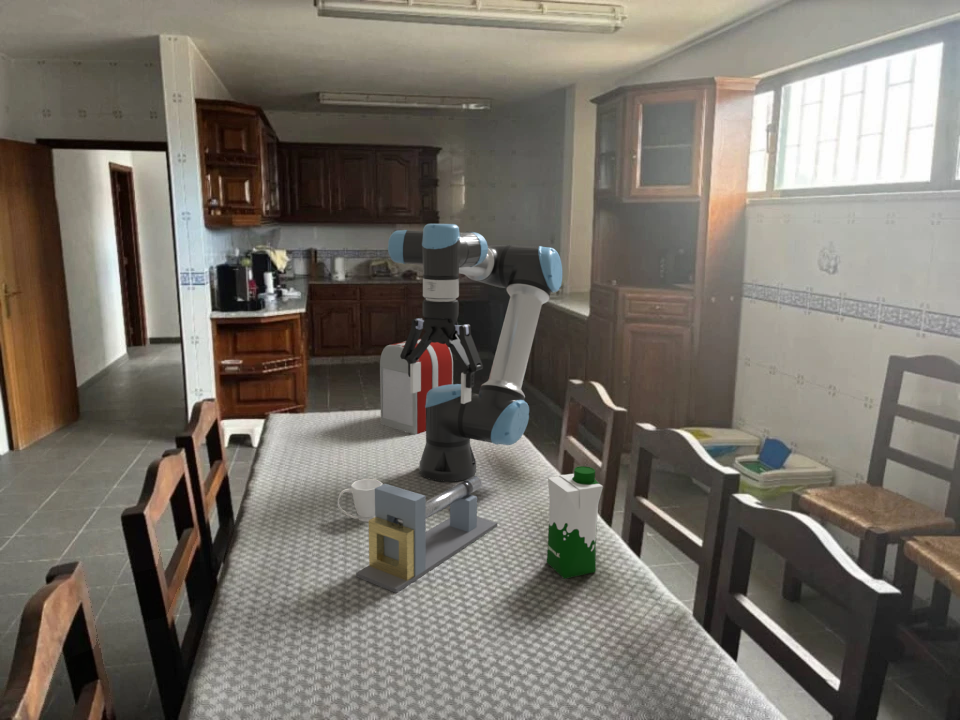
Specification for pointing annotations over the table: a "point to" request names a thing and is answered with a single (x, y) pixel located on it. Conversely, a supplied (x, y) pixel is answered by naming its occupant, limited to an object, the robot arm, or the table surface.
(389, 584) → the rig
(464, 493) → the shaft
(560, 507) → the milk carton
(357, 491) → the cup
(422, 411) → the red grey striped box
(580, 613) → the table surface
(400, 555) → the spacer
